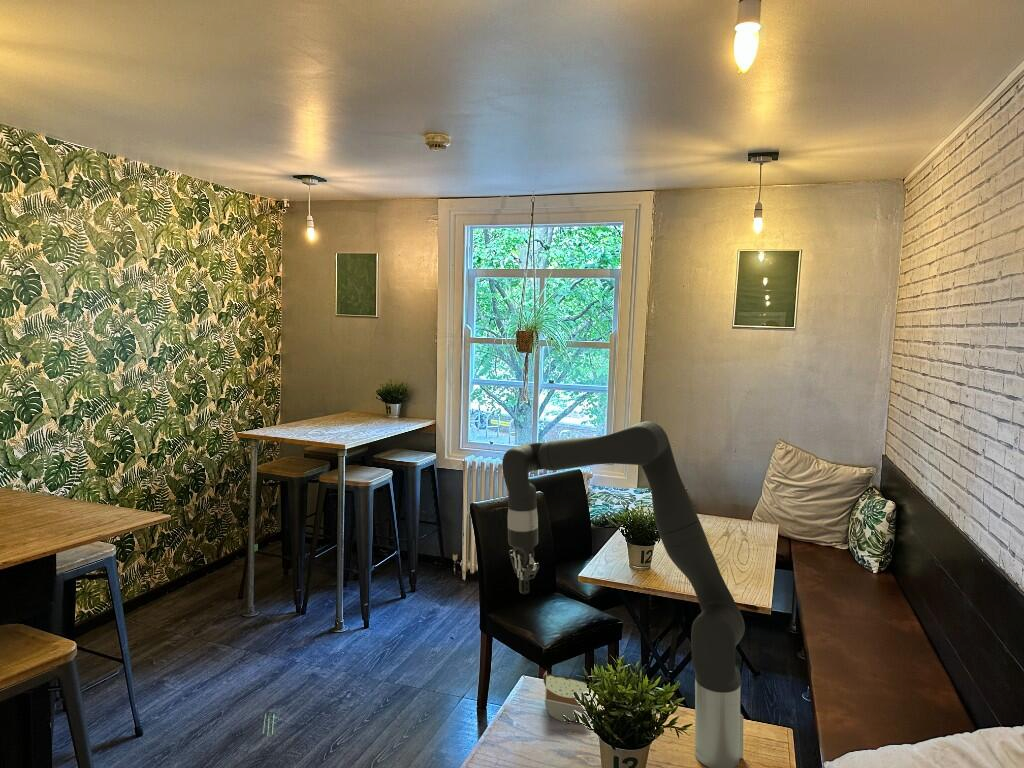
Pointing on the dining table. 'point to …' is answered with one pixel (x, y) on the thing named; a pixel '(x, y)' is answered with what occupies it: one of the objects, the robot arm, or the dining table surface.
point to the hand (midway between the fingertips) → (524, 592)
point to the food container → (562, 695)
